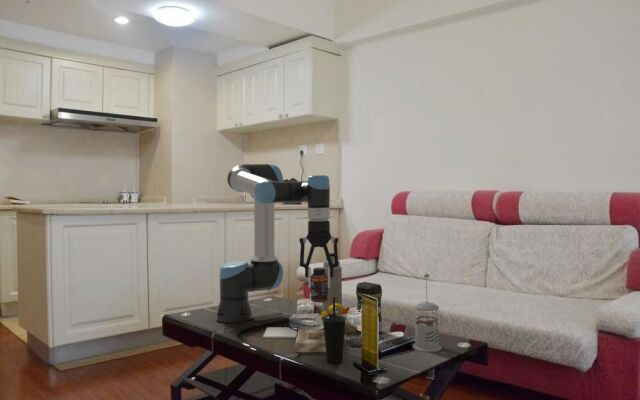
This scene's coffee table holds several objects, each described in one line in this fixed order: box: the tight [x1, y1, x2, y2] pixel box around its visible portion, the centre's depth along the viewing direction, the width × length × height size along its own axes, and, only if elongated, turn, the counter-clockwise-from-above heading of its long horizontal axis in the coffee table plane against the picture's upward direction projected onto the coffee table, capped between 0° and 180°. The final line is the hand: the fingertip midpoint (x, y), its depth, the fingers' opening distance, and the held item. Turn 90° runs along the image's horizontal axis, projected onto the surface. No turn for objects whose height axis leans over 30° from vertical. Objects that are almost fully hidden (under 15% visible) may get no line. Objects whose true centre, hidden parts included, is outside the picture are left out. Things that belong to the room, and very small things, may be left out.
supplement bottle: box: [310, 267, 328, 303], centre depth 176 cm, size 6×6×11 cm
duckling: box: [320, 303, 350, 322], centre depth 196 cm, size 11×5×10 cm, turn 73°
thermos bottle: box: [321, 252, 343, 315], centre depth 205 cm, size 8×8×28 cm
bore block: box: [294, 329, 345, 353], centre depth 176 cm, size 16×16×3 cm
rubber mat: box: [262, 326, 298, 339], centre depth 190 cm, size 12×12×1 cm
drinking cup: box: [322, 298, 347, 365], centre depth 159 cm, size 8×8×20 cm
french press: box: [411, 273, 443, 353], centre depth 173 cm, size 10×12×25 cm
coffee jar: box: [355, 281, 383, 334], centre depth 191 cm, size 10×8×19 cm
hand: (319, 286), depth 176 cm, fingers closed on supplement bottle, 6 cm apart
